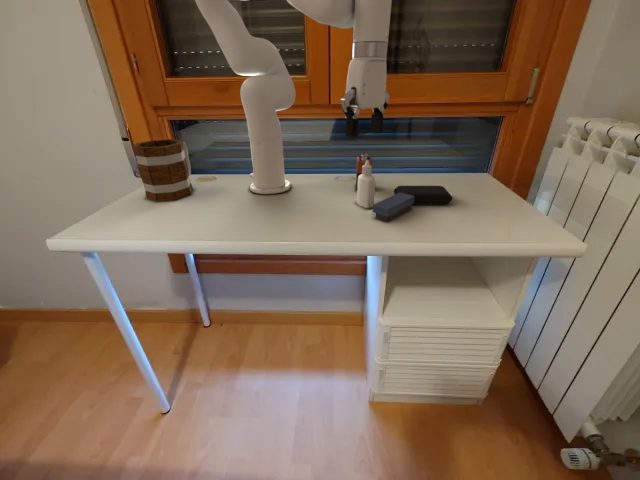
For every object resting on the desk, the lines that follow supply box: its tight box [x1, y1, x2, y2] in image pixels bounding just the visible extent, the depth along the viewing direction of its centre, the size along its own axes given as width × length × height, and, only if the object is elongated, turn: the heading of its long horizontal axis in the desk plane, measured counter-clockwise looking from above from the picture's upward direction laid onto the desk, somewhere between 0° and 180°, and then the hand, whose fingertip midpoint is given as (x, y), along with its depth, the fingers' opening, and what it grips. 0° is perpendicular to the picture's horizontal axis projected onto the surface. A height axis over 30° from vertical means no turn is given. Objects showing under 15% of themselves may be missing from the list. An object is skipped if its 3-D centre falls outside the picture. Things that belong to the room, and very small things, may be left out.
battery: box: [355, 153, 373, 192], centre depth 96 cm, size 4×7×10 cm, turn 173°
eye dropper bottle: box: [356, 160, 376, 209], centre depth 83 cm, size 4×6×12 cm
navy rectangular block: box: [372, 193, 415, 223], centre depth 80 cm, size 12×4×4 cm, turn 136°
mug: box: [131, 138, 194, 203], centre depth 96 cm, size 20×14×15 cm
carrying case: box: [393, 185, 454, 205], centre depth 89 cm, size 11×3×15 cm
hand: (364, 133), depth 78 cm, fingers open, 9 cm apart
